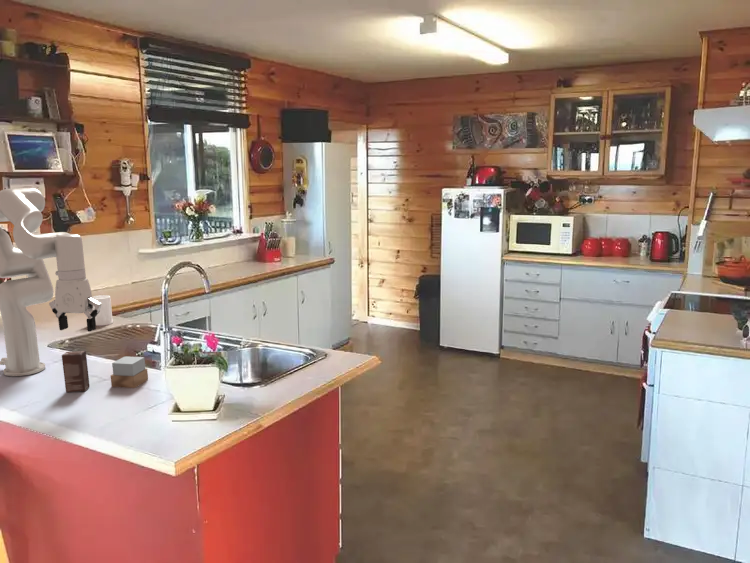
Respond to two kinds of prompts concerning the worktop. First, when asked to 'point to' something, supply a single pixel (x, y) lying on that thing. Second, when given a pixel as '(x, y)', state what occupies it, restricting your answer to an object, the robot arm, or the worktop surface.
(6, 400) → the worktop surface
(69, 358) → the box
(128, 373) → the tower top
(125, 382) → the tower base
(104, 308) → the mug
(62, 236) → the robot arm
